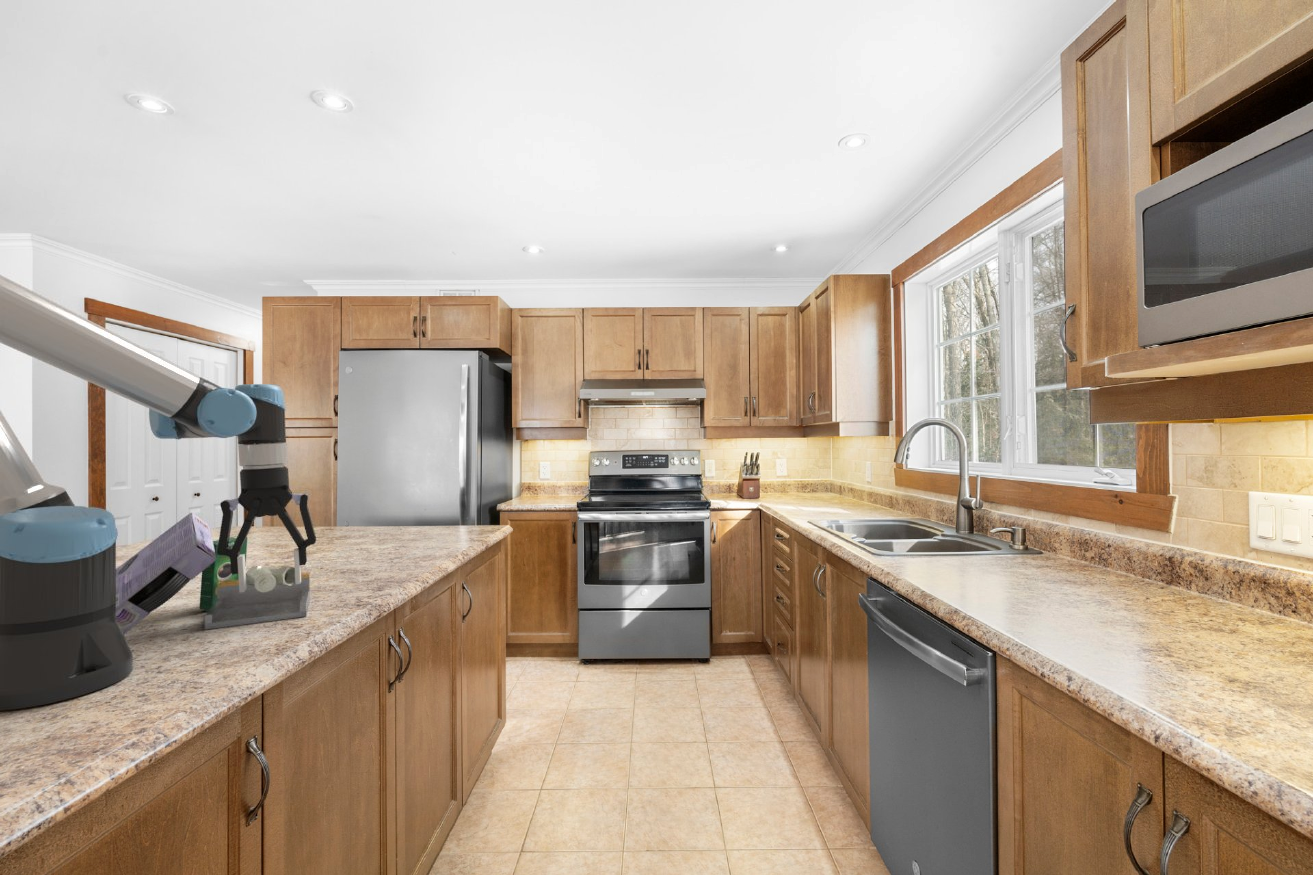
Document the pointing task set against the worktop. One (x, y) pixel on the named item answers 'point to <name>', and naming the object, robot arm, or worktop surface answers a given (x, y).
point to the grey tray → (257, 603)
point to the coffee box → (217, 575)
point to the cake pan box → (162, 569)
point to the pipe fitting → (270, 577)
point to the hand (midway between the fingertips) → (271, 586)
